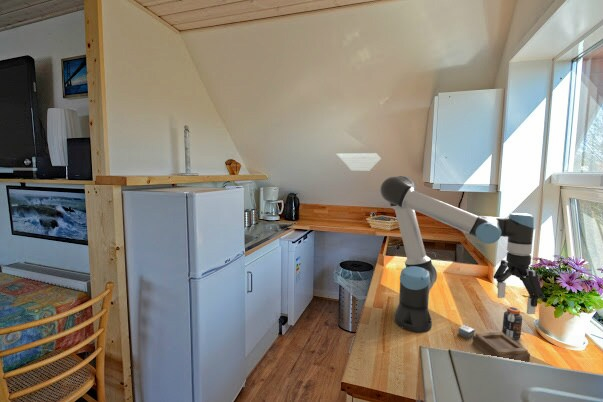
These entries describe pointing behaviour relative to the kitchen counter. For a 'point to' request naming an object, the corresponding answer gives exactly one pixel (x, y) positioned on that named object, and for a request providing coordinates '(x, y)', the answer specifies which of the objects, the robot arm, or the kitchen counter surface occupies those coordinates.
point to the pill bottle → (512, 323)
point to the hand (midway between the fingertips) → (515, 305)
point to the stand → (500, 346)
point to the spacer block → (466, 331)
